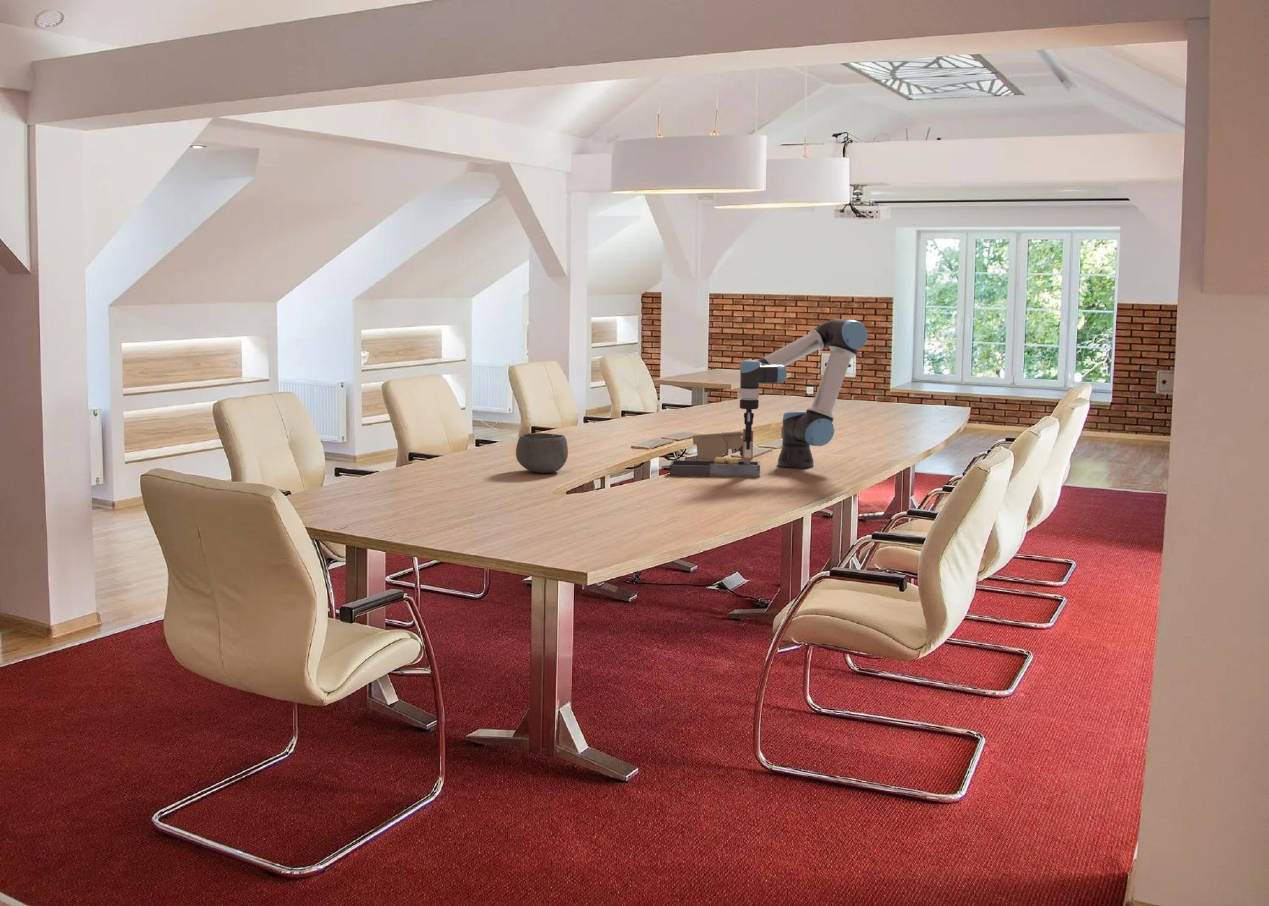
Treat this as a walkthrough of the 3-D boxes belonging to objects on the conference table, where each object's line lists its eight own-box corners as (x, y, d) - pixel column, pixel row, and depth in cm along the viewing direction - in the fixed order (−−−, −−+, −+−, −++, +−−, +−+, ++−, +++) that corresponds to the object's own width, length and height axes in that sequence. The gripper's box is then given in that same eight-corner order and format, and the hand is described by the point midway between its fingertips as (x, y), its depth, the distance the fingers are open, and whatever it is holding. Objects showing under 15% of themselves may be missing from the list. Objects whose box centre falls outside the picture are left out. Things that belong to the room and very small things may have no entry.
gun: (752, 465, 516) (750, 430, 514) (752, 466, 513) (750, 431, 511) (695, 468, 519) (692, 434, 517) (695, 470, 516) (692, 435, 514)
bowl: (506, 473, 490) (506, 436, 487) (532, 466, 508) (532, 430, 506) (552, 477, 481) (552, 440, 479) (577, 470, 500) (577, 434, 498)
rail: (759, 472, 497) (760, 461, 496) (759, 477, 486) (760, 465, 486) (710, 471, 499) (711, 460, 498) (709, 475, 489) (709, 464, 488)
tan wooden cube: (726, 467, 495) (726, 457, 494) (724, 468, 491) (724, 458, 490) (716, 466, 496) (716, 457, 495) (714, 468, 492) (714, 458, 491)
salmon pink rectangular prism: (752, 466, 495) (753, 428, 493) (752, 469, 488) (753, 431, 486) (742, 466, 495) (743, 428, 493) (742, 469, 488) (743, 430, 486)
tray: (711, 470, 501) (711, 460, 500) (709, 476, 487) (709, 466, 486) (672, 470, 502) (672, 459, 502) (669, 475, 488) (669, 465, 488)
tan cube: (736, 467, 494) (737, 457, 493) (738, 469, 490) (738, 459, 489) (727, 467, 494) (727, 457, 493) (728, 469, 490) (728, 459, 489)
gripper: (740, 396, 496) (738, 453, 500) (739, 400, 480) (738, 459, 483) (758, 396, 496) (757, 453, 499) (758, 401, 479) (757, 459, 482)
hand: (747, 456), depth 491 cm, fingers closed on salmon pink rectangular prism, 4 cm apart
